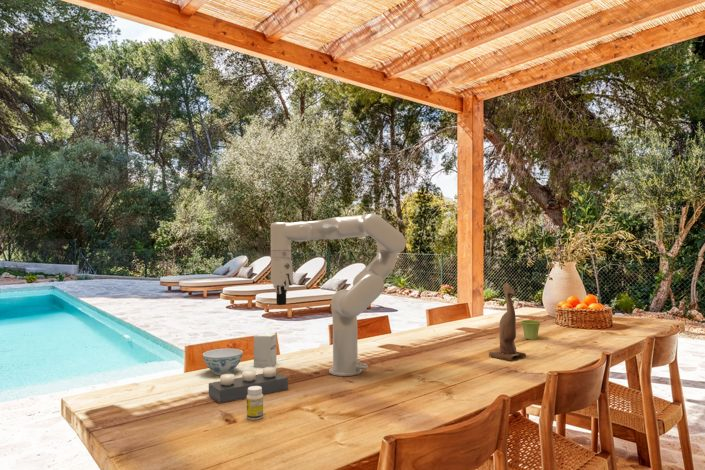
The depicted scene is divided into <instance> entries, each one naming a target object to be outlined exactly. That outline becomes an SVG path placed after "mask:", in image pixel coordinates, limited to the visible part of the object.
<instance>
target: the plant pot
mask: <svg viewBox="0 0 705 470" xmlns="http://www.w3.org/2000/svg"><path fill="white" fill-rule="evenodd" d="M520 323H521V325H522V329H523V334H524V335H523V337H524V339H525V340H527V339H528V340H530V341H531V340H532V341H533V340H534V341H535V340H538V335H539V329H540V326H541V321H538V320H533V319H528V320H527V319H525V320H524V319H523V320H521V321H520Z"/></svg>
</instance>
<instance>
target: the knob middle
mask: <svg viewBox="0 0 705 470" xmlns="http://www.w3.org/2000/svg"><path fill="white" fill-rule="evenodd" d="M256 373H257V372H256V370H252V369H249V370H247V369H246V370H244V371H242V374H241V375H242V376H241V377H242V380H243V381H246V382H251V381H252V380H255V379H256V375H257V374H256Z"/></svg>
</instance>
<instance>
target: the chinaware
mask: <svg viewBox="0 0 705 470" xmlns="http://www.w3.org/2000/svg"><path fill="white" fill-rule="evenodd" d="M243 354H244V351H243V350H241V349H238V348H217V349H216V348H215V349H211V350H208V351H205V352H203V353H202V359H203V360H204V364H205V365H206V366H207V368H209V370H211V371H213V374H214V375H215V376H216V375H217V376H221V375H223V374H233V373H232V372H233V370H235V369H236V368H237V367H238V366H239V364H240V363H241V360H242V357H243Z"/></svg>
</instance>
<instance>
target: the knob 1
mask: <svg viewBox="0 0 705 470" xmlns="http://www.w3.org/2000/svg"><path fill="white" fill-rule="evenodd" d="M219 376H220V380H219V381H220V384H221V385H224V387H225V386H230V385H231V384H233V383H234V379H235V374H233V373H230V374H223V375H219Z"/></svg>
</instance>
